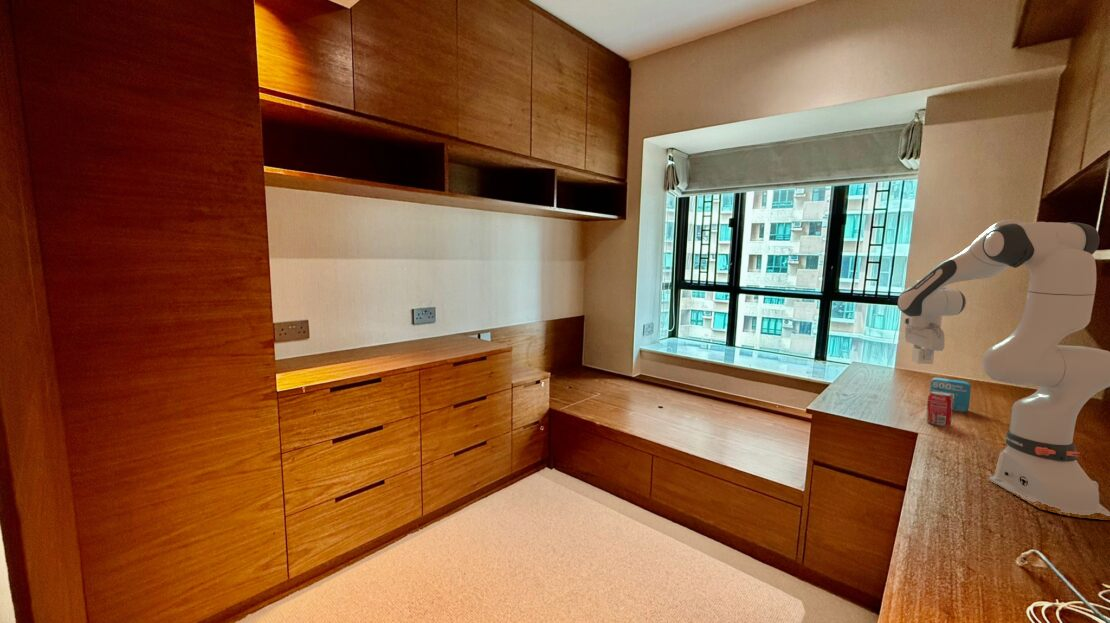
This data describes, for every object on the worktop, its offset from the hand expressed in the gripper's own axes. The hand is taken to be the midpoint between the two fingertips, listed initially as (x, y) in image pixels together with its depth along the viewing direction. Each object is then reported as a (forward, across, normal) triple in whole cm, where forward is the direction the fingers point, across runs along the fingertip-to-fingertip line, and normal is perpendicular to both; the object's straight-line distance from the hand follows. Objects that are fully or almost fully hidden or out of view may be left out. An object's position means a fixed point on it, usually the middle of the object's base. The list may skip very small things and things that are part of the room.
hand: (922, 358), depth 160 cm
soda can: (+25, -1, -6) cm, 26 cm away
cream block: (+2, 0, 0) cm, 2 cm away
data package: (+25, +21, -19) cm, 38 cm away
